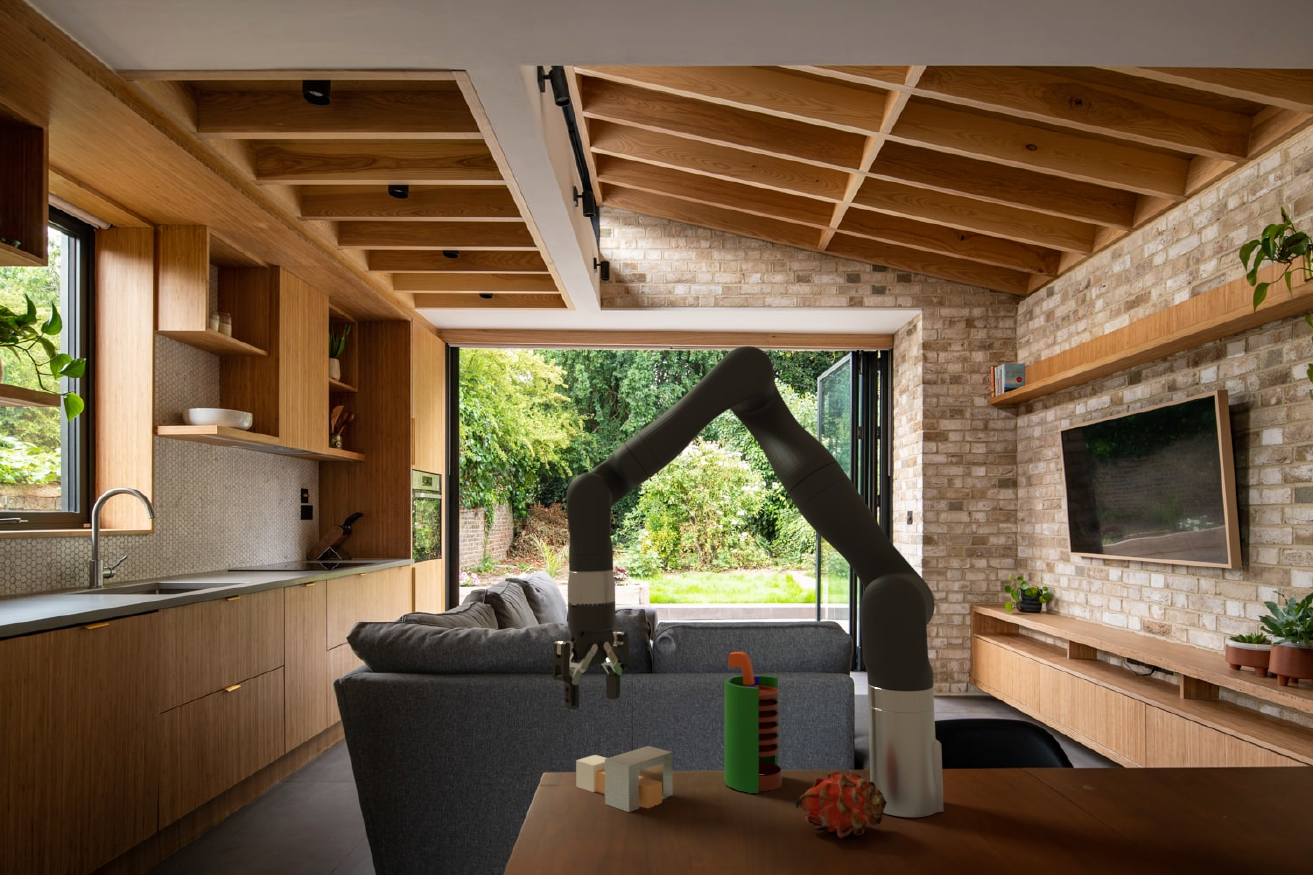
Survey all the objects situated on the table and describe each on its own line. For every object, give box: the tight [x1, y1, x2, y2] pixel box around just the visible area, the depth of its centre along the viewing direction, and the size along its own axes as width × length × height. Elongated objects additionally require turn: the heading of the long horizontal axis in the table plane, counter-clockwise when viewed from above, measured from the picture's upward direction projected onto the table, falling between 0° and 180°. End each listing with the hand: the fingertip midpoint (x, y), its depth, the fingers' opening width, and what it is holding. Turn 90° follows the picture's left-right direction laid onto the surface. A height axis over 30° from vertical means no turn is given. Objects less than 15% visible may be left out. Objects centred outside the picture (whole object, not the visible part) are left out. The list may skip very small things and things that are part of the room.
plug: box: [575, 754, 663, 809], centre depth 129 cm, size 15×4×4 cm, turn 47°
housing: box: [604, 745, 674, 813], centre depth 127 cm, size 5×9×6 cm, turn 137°
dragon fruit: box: [794, 770, 887, 839], centre depth 114 cm, size 8×8×12 cm
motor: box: [723, 651, 783, 794], centre depth 134 cm, size 10×9×20 cm
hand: (593, 703), depth 134 cm, fingers open, 8 cm apart
